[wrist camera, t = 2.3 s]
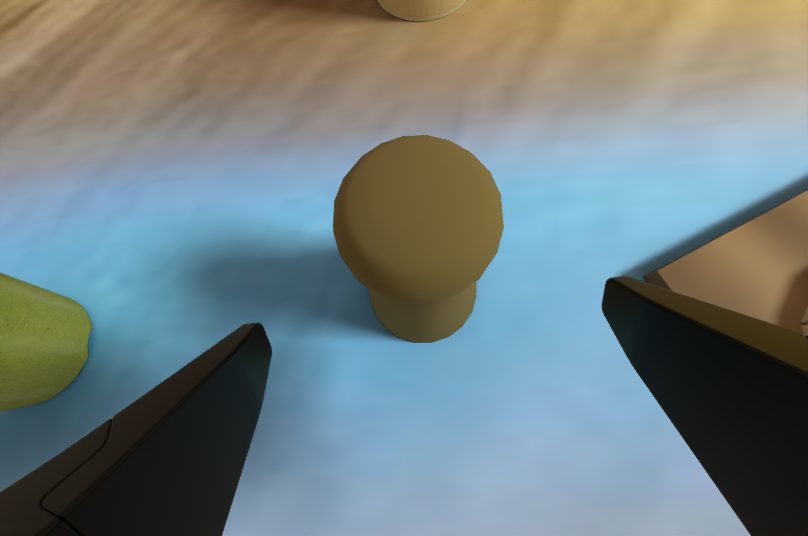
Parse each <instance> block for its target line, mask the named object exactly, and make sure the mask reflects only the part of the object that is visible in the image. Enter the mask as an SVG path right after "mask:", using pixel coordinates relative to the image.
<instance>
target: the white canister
mask: <svg viewBox="0 0 808 536" xmlns="http://www.w3.org/2000/svg"><path fill="white" fill-rule="evenodd" d="M466 1H467V0H377V2H378V3H379V5H380V6H381V7H382V8H383V9H384V10H385V11H387V12H388V13H390V14H391V15H393V16H395V17H397V18H400V19H404V20H408V21H430V20H435V19H439V18H442V17H445V16H447V15H449V14H451V13H453V12H454V11H456V10H457V9H459V8H460V7H461V6H462V5H463V4H464V3H465V2H466Z"/></svg>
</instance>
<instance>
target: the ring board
mask: <svg viewBox="0 0 808 536" xmlns="http://www.w3.org/2000/svg"><path fill="white" fill-rule="evenodd" d="M644 278H645V280H646V281H647V282H648V283H649V284H652V285H655V286H658V287H661V288H664V289H667V290H670V291H673V292H677V293H680V294H683V295H686V296H689V297H692V298H695V299H698V300H701V301H704V302H707V303H710V304H714V305H717V306H720V307H723V308H726V309H729V310H732V311H735V312H738V313H741V314H744V315H747V316H750V317H754V318H757V319H760V320H763V321H766V322H769V323H772V324H775V325H778V326H781V327H784V328H787V329H791V330H794V331H797V332H800V333H802V334H804V336H806V335H808V189H807V190H806V191H804V192H802V193H800V194H798V195H796V196H794V197H792V198H791V199H789V200H787V201H785V202H783V203H781V204H779V205H777V206H776V207H774V208H772V209H770V210H768V211H766V212H764V213H762V214H761V215H759V216H757V217H755V218H753V219H751V220H749V221H747V222H746V223H744V224H742V225H740V226H738V227H736V228H734V229H732V230H731V231H729V232H727V233H725V234H723V235H721V236H719V237H717V238H716V239H714V240H712V241H710V242H708V243H706V244H704V245H702V246H701V247H699V248H697V249H695V250H693V251H691V252H689V253H687V254H685V255H684V256H682V257H680V258H678V259H676V260H674V261H672V262H670V263H669V264H667V265H665V266H663V267H661V268H659V269H657V270H655V271H654V272H652V273H650V274H648V275H646V276H644Z"/></svg>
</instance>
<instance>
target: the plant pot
mask: <svg viewBox="0 0 808 536" xmlns="http://www.w3.org/2000/svg"><path fill="white" fill-rule="evenodd" d="M91 330H92V324H91V320H90V317H89V315H88V313H87V312H86V310H85V309H84V307H82V306H81V305H80V304H79V303H77V302H76V301H74V300H72V299H70V298H68V297H65V296H62V295H60V294H57V293H54V292H51V291H48V290H46V289H43V288H40V287H38V286H35V285H32V284H29V283H27V282H24V281H21V280H19V279H16V278H13V277H11V276H8V275H5V274H2V273H0V411H4V410H9V409H15V408H20V407H25V406H29V405H33V404H37V403H40V402H43V401H46V400H48V399H50V398H52V397H54V396H55V395H57V394H58V393H60V392H61V391H62V390H64V389H65V388H66V387H67V386H68V385H69V384H70V383H71V382H72V381H73V380H74V379H75V378H76V376H77V375H78V374H79V372H80V371H81V369H82V368H83V366H84V364H85V362H86V360H87V358H88V355H89V352H88V338H89V335H90V333H91Z"/></svg>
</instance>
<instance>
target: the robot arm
mask: <svg viewBox="0 0 808 536" xmlns="http://www.w3.org/2000/svg"><path fill="white" fill-rule="evenodd" d="M602 311H603V314H604V316H605V318H606V319H607V321H608V323H609V325H610V327H611V329H612V330H613V332H614V334H615V336H616V338H617V340H618V341H619V343H620V345H621V347H622V349H623V351H624V352H625V354H626V356H627V358H628V359H629V361H630V363H631V364H632V366H633V367H634V369H635V370H636V372H637V373H638V375H639V376H640V378H641V379H642V380H643V382H644V383H645V385H646V386H647V388H648V389H649V390H650V392H651V393H652V395H653V396H654V398H655V399H656V400H657V402H658V403H659V405H660V406H661V408H662V409H663V410H664V412H665V413H666V415H667V416H668V418H669V419H670V420H671V422H672V423H673V425H674V426H675V428H676V429H677V430H678V432H679V433H680V435H681V436H682V438H683V439H684V441H685V442H686V443H687V445H688V446H689V448H690V449H691V451H692V452H693V453H694V455H695V456H696V458H697V459H698V461H699V462H700V463H701V465H702V466H703V468H704V469H705V471H706V472H707V473H708V475H709V476H710V478H711V479H712V481H713V482H714V483H715V485H716V486H717V488H718V489H719V491H720V492H721V493H722V495H723V496H724V498H725V499H726V501H727V502H728V503H729V505H730V506H731V508H732V509H733V511H734V512H735V513H736V515H737V516H738V518H739V519H740V521H741V522H742V524H743V525H744V526H745V528H746V529H747V531H748V532H749V534H750V535H751V536H808V335H806V336H804V334H802V333H800V332H797V331H794V330H791V329H787V328H784V327H781V326H778V325H775V324H772V323H769V322H766V321H763V320H760V319H757V318H754V317H750V316H747V315H744V314H741V313H738V312H735V311H732V310H729V309H726V308H723V307H720V306H717V305H714V304H710V303H707V302H704V301H701V300H698V299H695V298H692V297H689V296H686V295H683V294H680V293H677V292H673V291H670V290H667V289H664V288H661V287H658V286H655V285H652V284H649V283H646V282H643V281H640V280H636V279H633V278H630V277H627V276H620V277H612V278H609V279H608V280H607V281H606V284H605V289H604V295H603V300H602ZM271 356H272V348H271V345H270V342H269V340H268V337H267V335H266V332H265V330H264V327H263V326H262V324H260V323H250V324H244V325H242V326H241V327H240V328H238V329H237V330H235V331H234V332H232V333H231V334H230V335H228V336H227V337H225V338H224V339H223V340H221V341H220V342H218V343H217V344H215V345H214V346H213V347H211V348H210V349H208V350H207V351H206V352H204V353H203V354H201V355H200V356H198V357H197V358H196V359H194V360H193V361H191V362H190V363H189V364H187V365H186V366H184V367H183V368H181V369H180V370H179V371H177V372H176V373H174V374H173V375H172V376H170V377H169V378H167V379H166V380H164V381H163V382H162V383H160V384H159V385H157V386H156V387H155V388H153V389H152V390H150V391H149V392H147V393H146V394H145V395H143V396H142V397H140V398H139V399H138V400H136V401H135V402H133V403H132V404H131V405H129V406H128V407H126V408H125V409H123V410H122V411H121V412H119V413H118V414H116V415H115V416H114V417H113V419H109V420H108V421H106V422H105V423H103V424H102V425H101V426H99V427H98V428H96V429H95V430H94V431H92V432H91V433H89V434H88V435H86V436H85V437H83V438H82V439H81V440H79V441H78V442H76V443H75V444H73V445H72V446H70V447H69V448H67V449H66V450H65V451H63V452H62V453H60V454H59V455H57V456H56V457H54V458H52V459H51V460H49V461H48V462H46V463H45V464H43V465H42V466H40V467H39V468H37V469H36V470H34V471H33V472H31V473H30V474H28V475H27V476H25V477H23V478H22V479H20V480H19V481H17V482H16V483H14V484H13V485H11V486H9V487H8V488H6V489H5V490H3V491H2V492H0V536H222V534H223V531H224V527H225V524H226V521H227V518H228V515H229V511H230V508H231V505H232V502H233V498H234V495H235V492H236V489H237V486H238V482H239V479H240V476H241V473H242V469H243V466H244V463H245V460H246V457H247V453H248V450H249V447H250V444H251V440H252V437H253V434H254V431H255V428H256V424H257V421H258V418H259V415H260V411H261V407H262V403H263V399H264V393H265V388H266V383H267V377H268V372H269V367H270V362H271Z"/></svg>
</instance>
